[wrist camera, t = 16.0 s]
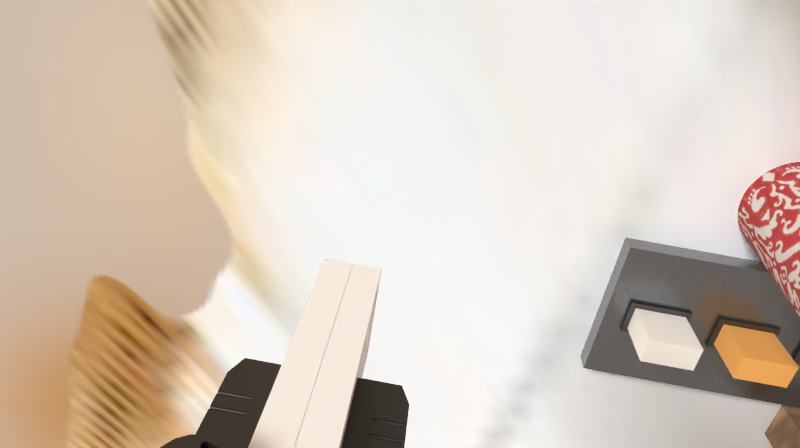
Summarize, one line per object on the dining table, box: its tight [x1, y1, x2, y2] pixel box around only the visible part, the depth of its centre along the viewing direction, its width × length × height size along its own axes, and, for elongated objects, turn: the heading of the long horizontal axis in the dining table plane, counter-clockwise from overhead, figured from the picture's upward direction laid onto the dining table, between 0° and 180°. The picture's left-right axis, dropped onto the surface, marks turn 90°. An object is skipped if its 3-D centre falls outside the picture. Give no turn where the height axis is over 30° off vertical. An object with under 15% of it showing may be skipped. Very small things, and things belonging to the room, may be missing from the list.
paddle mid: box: [714, 324, 799, 388], centre depth 46 cm, size 2×4×4 cm, turn 81°
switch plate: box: [581, 238, 800, 408], centre depth 49 cm, size 12×22×2 cm, turn 81°
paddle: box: [627, 308, 703, 371], centre depth 46 cm, size 2×4×4 cm, turn 81°
